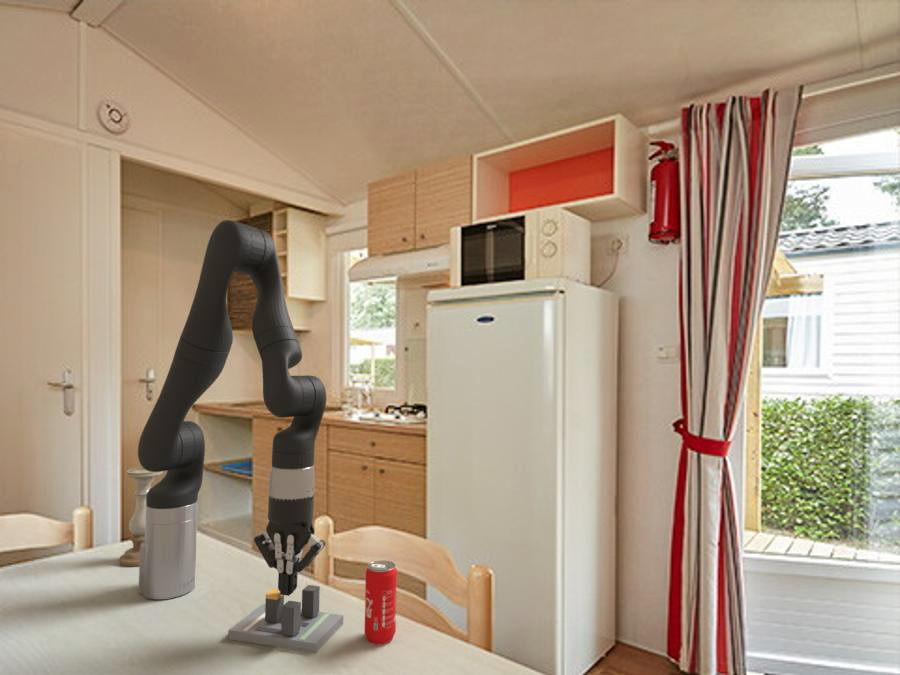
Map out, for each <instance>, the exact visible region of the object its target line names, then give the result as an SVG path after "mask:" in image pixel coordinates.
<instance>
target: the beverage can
mask: <svg viewBox="0 0 900 675" xmlns="http://www.w3.org/2000/svg"><path fill="white" fill-rule="evenodd" d="M397 570H398V569H397V568H396V564H395V563H394V562H392V561H390V560H376V561H372V562H370V563H368V564H367V568H366V570H365V589H364V591H365V594H364V595H365V599H364V635H365V638H366V641H367V642H368V643H369V644H372V645H375V646H381V645H382V646H383V645H386V644H389V643H391V642H392V641H393V639H394V637H395V634H396V629H397V626H396V624H397V584H398V583H397V580H398V579H397V578H398V571H397Z"/></svg>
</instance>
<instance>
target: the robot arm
mask: <svg viewBox="0 0 900 675" xmlns="http://www.w3.org/2000/svg"><path fill="white" fill-rule="evenodd" d="M201 266H202V267H201V270H200V275H199V280H198V283H197V287H196V291H195V294H194V297H193V300H192V304H191V307H190V310H189V313H188V315H187V319H186V321H185V324H184V327H183V329H182V331H181V333H180V337H179V340H178V343H177V345H176V348H175V352H174V354H173V357H172V361H171V364H170V367H169V370H168V372H167V374H166V375H167V376H166V378H165V380H164V384H163V385H162V389H161V390H160V393H159V396H158V398H157V400H156V402H155V404H154V407H153V409H152V411H151V413H150V415H149V416H148V419H147V421H146V423H145V426H144V427H143V430H142V431H141V435H140V437H139V442H138V446H137V458H138V461H139V464H140V466H141V468H142V467H143V468H144V469H145V470H147V471H150V472H161V471H163V472H165V471H166V473H165V475H164V477H163V478H162V479H160V481H159V482H158V483H156V484H155V485H154V486H151V489H150V490H149V491H148V492H147V496H146V524H145V542H144V543H142V544H141V545H140V566H138V567H139V570H138V571H139V572H138V573H139V575H138V594H141V595H143V597H145V598H146V599H148V600H149V599H150V600H167V599H174V598H177V597H181V596H184V595H186V594H189V593H190V592H191V591H192V590H194V588H195V586H196V567H197V566H196V562H197V533H198V532H197V530H198V529H197V528H198V526H197V525H198V498H199V497H198V496H199V492H200V489H201V487H202V484H203V476H204V467H205V466H204V464H205V455H206V453H205V452H206V444H205V443H206V440H205V436H204V431H203V430H202V428H201V427H200V426H199V425H198V423H196V422H194V421H190V420H185V419H186V417H187V415H188V413H189V411H190V409H191V408H192V407H193V405H194V404H195V403H197V401H198V400H199V399H200V397H201V396H202V395H204V394H205V392H207V390H208V389H210V387H211V386H212V385H214V383H215V382H216V380H217V379H218V378H219V377H220V376H221V374H222V372H223V370H224V368H225V365H226V362H227V360H228V357H229V355H230V351H231V349H232V345H233V340H234V337H233V336H234V335H233V328H232V324H231V319H230V315H229V312H228V305H227V297H228V296H227V295H228V289H229V286H230V283H231V282H230V281H231V278H232V276H233V275H234V274H233V273H237V274H241V275H247V276H249V277H250V279H251V280H252V282H253V284H254V287H255V288H256V293H257V300H256V304H255V309H254V312H253V315H252V319H251V320H252V321H251V327H252V335H253V339H254V342H255V346H256V348H257V350H258V353H259V357H260V359H261V365H262V366H261V367H262V368H261V369H262V371H261V372H262V398H263V401H264V405H265V407H266V408H267V410H268V411H269V412H270V414H271V415H273V416H275V417H277V418H283V419H285V418H292V417H293V418H292V421H291V423H290V425H289V426H288V427H287V428H285V429H282V430H280V431H278V432H277V433H276V434H275V435H274V436H273V439H272V440H273V441H272V449H271V450H272V451H271V470H270V473H269V474H270V475H269V476H270V477H269V486H268V504H267V505H268V507H267V519H268V523H267V526H266V528H265V531H264V532H261V533H260V534H258V535H257V536H254V538H253V542H254V543H255V545H256V547H257V549H258V550H259V552H260V554H261V556H262V557H263V559H264V561H265V563H266V564H267V565H268V567H269V568H271V569H272V568H274V569H276V571H277V572H278V578H277V588H278V589H277V590H279V591H280V594H281V595H284V596H288V597H290V596H291V595H292V594H293V593H294V592H295V591H296V590H297V588H298V575H299V574H298V573H301V572H302V571H303V570H305V569H306V568H308V567H309V566H310V565H311V564H312V562H313V561H314V560H315V559H316V558H317V556H318V555H319V554H320V552H322V550H323V549H324V547H326V541H325V540H324V539H319V538H318V537H317V536H316V535H315V528H314V525H313V519H314V506H315V503H314V502H315V489H316V486H315V484H316V482H315V480H316V477H315V448H316V446H315V445H316V438H317V437H318V433H319V430H320V426H321V423H322V420H323V416H324V413H325V410H326V406H327V391H326V390H327V389H326V388H325V385H324V383H323V382H322V380H321V379H320V378H319V377H317V376H316V375H315V376H314V375H310V374H309V375H305V374H304V375H291V373H290V372H289V371H290V370H291V369H292V368H294V367H296V366H297V365H298V364H299V363H300V362H301V361H302V359H303V351H302V347H301V345H300V342H299V340H298V337H297V334H296V331H295V328H294V326H293V323H292V320H291V317H290V314H289V310H288V308H287V303H286V302H287V301H286V297H285V290H284V284H283V279H282V273H281V268H280V261H279V256H278V252H277V247H276V244H275V241H274V239H273V238H272V236H271V235H270V234H269V233H268V232H267V231H265V230H262V229H260V228H257V227H254V226H251V225H248V224H244V223H242V222H238V221H235V220H231V219H225V220H223V221H220V222H219V223H218V224H217V225H216V226H215V228H214V229H213V231H212V233H211V234H210V237H209V240H208V243H207V245H206V250H205V253H204V258H203V263H202V265H201ZM307 544H308V545H307ZM306 546H307V550H308V551H307V552H306V554H305V555H304V556H303V557H302V555H303V552H304V548H305V547H306ZM301 557H302V558H301Z"/></svg>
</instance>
